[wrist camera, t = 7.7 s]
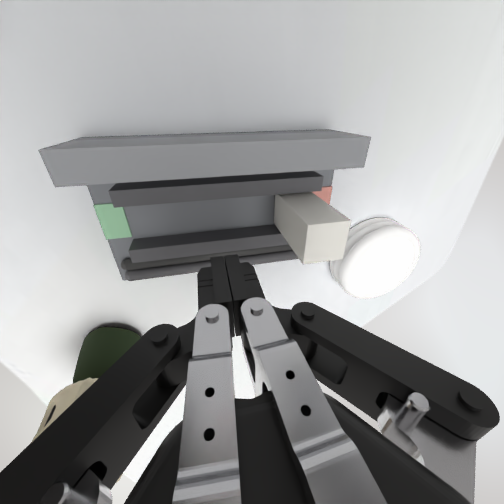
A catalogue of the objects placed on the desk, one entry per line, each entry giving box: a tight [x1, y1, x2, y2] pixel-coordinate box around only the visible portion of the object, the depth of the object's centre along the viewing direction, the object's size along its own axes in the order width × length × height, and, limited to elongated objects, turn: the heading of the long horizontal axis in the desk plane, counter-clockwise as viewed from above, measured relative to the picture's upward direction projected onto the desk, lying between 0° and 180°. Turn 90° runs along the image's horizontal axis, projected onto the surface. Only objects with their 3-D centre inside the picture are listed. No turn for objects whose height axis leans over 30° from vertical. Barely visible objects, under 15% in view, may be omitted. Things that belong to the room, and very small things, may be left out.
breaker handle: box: [274, 192, 351, 265], centre depth 19 cm, size 3×3×7 cm
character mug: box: [30, 327, 141, 482], centre depth 23 cm, size 11×7×13 cm, turn 165°
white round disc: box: [330, 218, 421, 299], centre depth 29 cm, size 10×10×4 cm
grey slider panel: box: [39, 130, 371, 281], centre depth 20 cm, size 12×20×6 cm, turn 91°
